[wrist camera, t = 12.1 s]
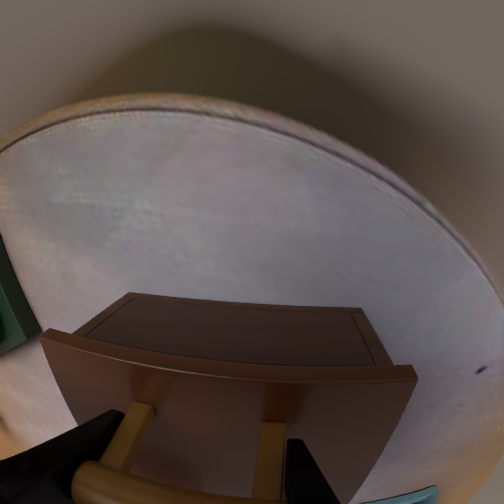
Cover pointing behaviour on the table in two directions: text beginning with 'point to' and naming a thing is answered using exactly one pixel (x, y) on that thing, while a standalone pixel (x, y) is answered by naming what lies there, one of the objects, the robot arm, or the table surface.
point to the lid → (221, 422)
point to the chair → (413, 498)
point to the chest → (240, 331)
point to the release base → (13, 308)
